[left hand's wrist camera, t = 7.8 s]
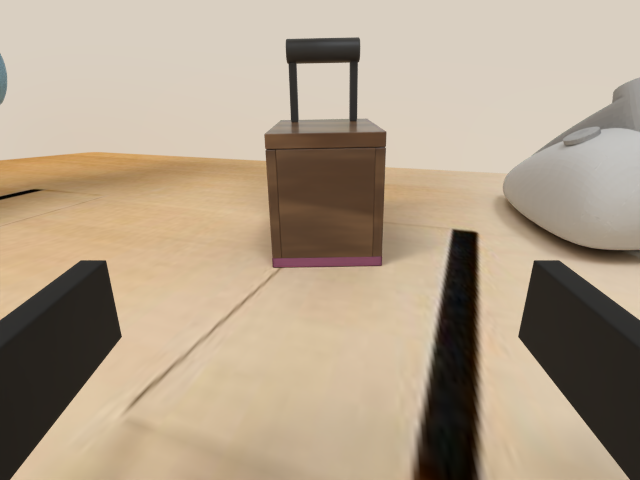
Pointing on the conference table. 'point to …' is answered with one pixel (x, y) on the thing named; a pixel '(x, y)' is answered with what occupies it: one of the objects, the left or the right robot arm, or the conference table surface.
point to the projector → (587, 178)
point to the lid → (331, 130)
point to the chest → (326, 206)
